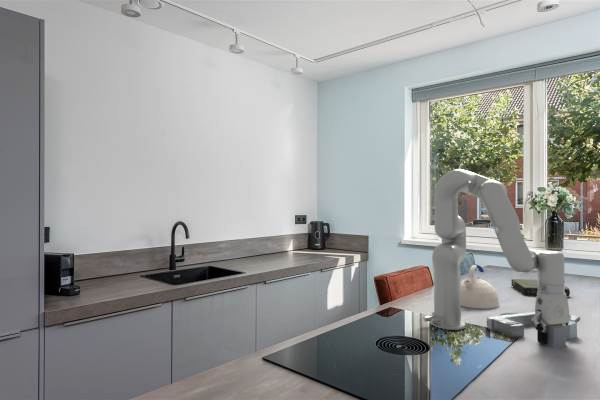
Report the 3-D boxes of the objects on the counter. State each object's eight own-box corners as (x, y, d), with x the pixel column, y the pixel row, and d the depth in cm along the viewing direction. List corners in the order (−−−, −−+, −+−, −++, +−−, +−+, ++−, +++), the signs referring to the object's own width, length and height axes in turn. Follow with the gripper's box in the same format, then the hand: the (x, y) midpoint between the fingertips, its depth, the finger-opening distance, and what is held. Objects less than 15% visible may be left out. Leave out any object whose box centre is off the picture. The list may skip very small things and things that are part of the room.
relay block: (570, 339, 133) (570, 324, 133) (557, 336, 137) (557, 321, 137) (577, 336, 136) (576, 322, 136) (564, 333, 139) (564, 319, 139)
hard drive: (580, 316, 157) (545, 309, 166) (574, 320, 151) (538, 313, 161) (580, 320, 157) (545, 313, 166) (574, 324, 151) (538, 317, 161)
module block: (554, 348, 125) (553, 327, 126) (537, 341, 131) (537, 322, 131) (565, 346, 127) (565, 326, 127) (549, 340, 133) (548, 320, 133)
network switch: (550, 288, 214) (550, 279, 214) (576, 298, 191) (576, 288, 191) (506, 287, 216) (506, 278, 217) (526, 297, 193) (526, 287, 193)
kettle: (444, 303, 181) (444, 265, 181) (461, 295, 196) (461, 260, 197) (491, 311, 167) (490, 270, 168) (505, 302, 183) (504, 264, 183)
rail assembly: (511, 337, 135) (511, 325, 135) (486, 327, 146) (486, 316, 146) (572, 329, 143) (571, 318, 143) (544, 320, 154) (544, 310, 154)
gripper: (540, 292, 123) (541, 349, 123) (581, 289, 128) (582, 342, 128) (520, 287, 130) (521, 340, 130) (560, 284, 135) (560, 335, 135)
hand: (551, 341), depth 129 cm, fingers open, 7 cm apart
